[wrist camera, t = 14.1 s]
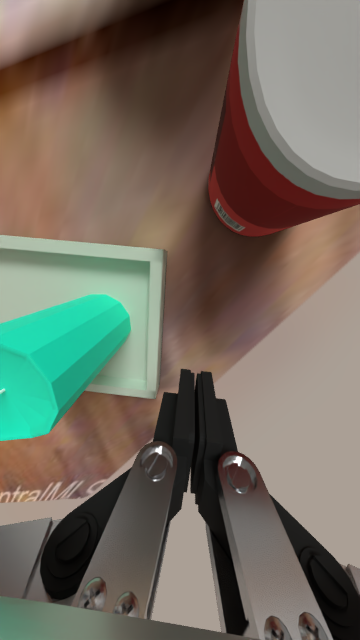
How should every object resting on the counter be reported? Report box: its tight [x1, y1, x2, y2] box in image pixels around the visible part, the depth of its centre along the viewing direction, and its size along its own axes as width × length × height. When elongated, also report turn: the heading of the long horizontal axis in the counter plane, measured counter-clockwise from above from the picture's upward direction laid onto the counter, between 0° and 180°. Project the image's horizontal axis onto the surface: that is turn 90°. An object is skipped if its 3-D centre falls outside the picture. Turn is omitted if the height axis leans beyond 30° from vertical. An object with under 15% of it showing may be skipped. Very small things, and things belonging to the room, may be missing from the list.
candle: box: [0, 294, 131, 441], centre depth 12 cm, size 6×6×12 cm
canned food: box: [208, 0, 360, 237], centre depth 9 cm, size 8×8×11 cm
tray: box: [0, 235, 167, 399], centre depth 18 cm, size 24×15×2 cm, turn 85°
